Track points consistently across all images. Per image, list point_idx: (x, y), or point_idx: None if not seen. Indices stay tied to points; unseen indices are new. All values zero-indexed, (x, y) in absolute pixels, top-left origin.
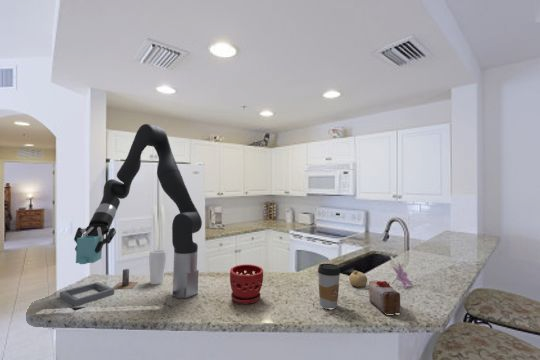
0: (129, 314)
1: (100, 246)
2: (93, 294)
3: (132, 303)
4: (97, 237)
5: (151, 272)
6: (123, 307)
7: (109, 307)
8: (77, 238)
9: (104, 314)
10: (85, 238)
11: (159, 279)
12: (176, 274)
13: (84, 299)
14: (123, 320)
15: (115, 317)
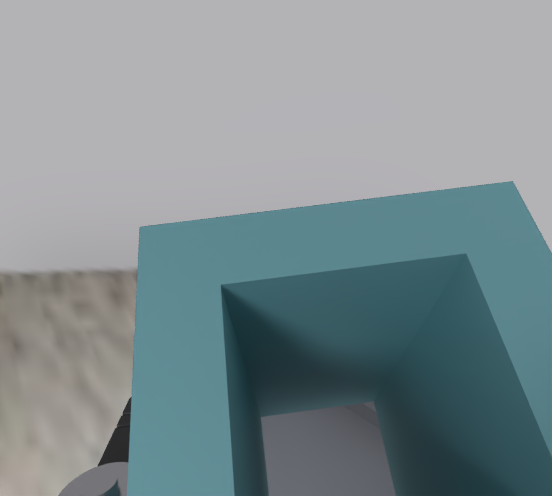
0: (3, 323)
1: (122, 421)
2: None
3: (10, 452)
4: (133, 361)
5: None
6: (49, 396)
7: (123, 392)
8: (506, 184)
9: (117, 318)
10: (339, 205)
11: None
12: None
13: None
14: (18, 273)
15: (58, 295)
